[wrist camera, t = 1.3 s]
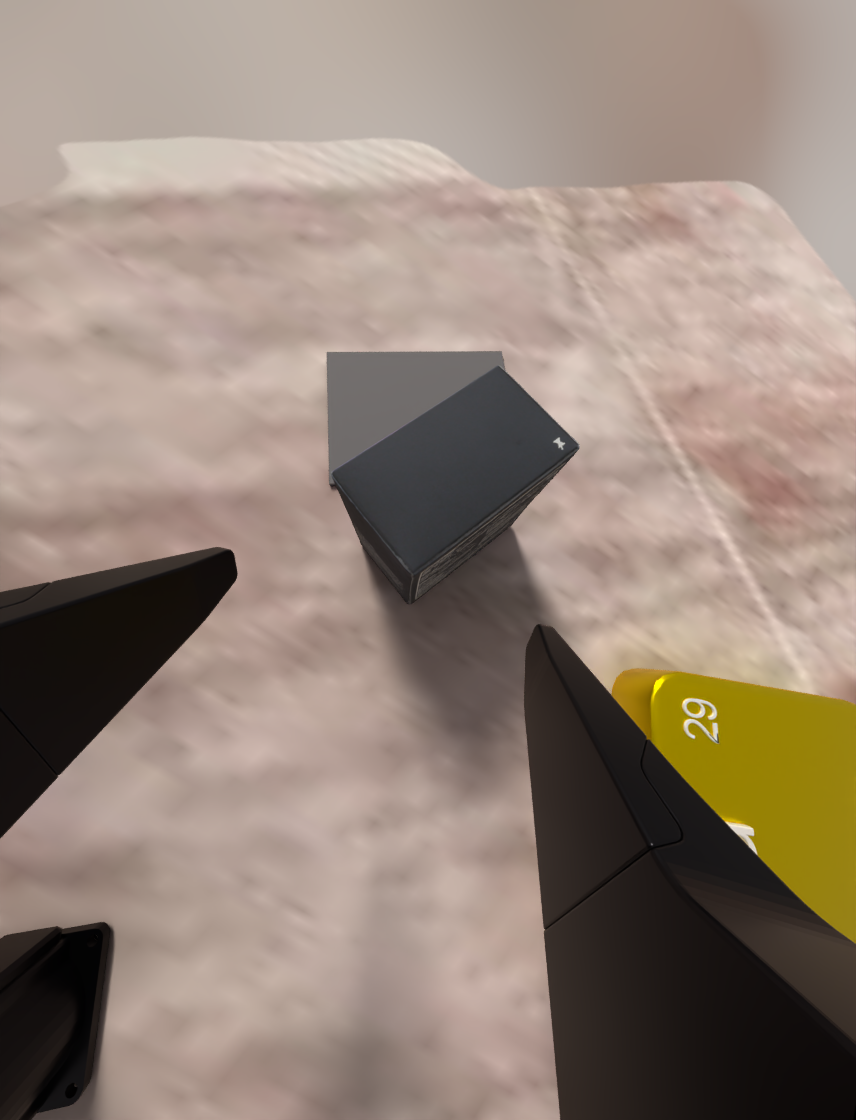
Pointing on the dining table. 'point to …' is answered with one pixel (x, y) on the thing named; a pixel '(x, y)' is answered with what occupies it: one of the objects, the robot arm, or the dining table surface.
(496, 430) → the small box
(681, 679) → the element tile
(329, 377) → the dark rubber mat
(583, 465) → the dining table surface
